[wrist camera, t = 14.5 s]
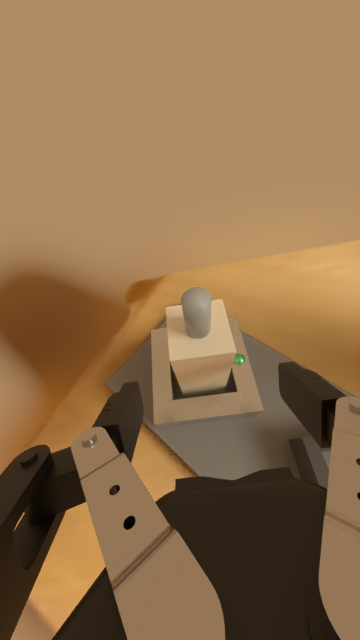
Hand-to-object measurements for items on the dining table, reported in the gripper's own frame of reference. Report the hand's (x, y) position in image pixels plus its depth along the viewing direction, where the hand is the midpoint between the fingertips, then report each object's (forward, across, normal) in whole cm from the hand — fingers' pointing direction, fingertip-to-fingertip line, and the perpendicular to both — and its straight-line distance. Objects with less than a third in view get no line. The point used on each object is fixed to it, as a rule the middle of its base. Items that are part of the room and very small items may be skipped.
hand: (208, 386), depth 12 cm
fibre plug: (+9, 0, +4) cm, 10 cm away
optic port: (+9, 0, +4) cm, 10 cm away
